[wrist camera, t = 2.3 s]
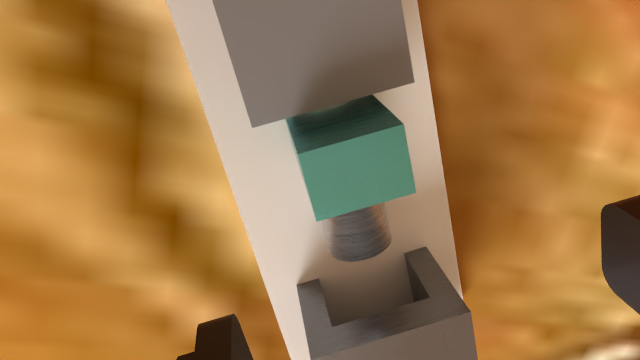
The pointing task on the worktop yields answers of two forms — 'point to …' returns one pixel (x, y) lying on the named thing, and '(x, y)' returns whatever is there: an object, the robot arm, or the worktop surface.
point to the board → (277, 150)
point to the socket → (395, 322)
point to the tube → (352, 172)
